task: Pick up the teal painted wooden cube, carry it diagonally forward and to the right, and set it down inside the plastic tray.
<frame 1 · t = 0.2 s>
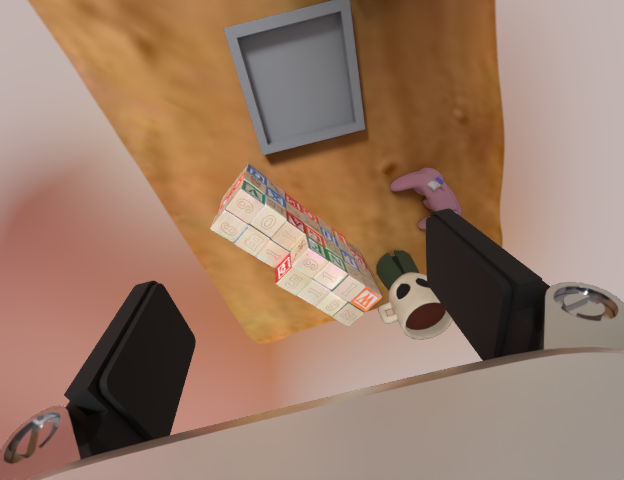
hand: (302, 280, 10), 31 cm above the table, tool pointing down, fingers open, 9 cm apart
tray: (299, 83, 34), on the table
character mug: (392, 263, 50), on the table
stack of blocks: (295, 224, 44), on the table
video game controller: (418, 193, 44), on the table
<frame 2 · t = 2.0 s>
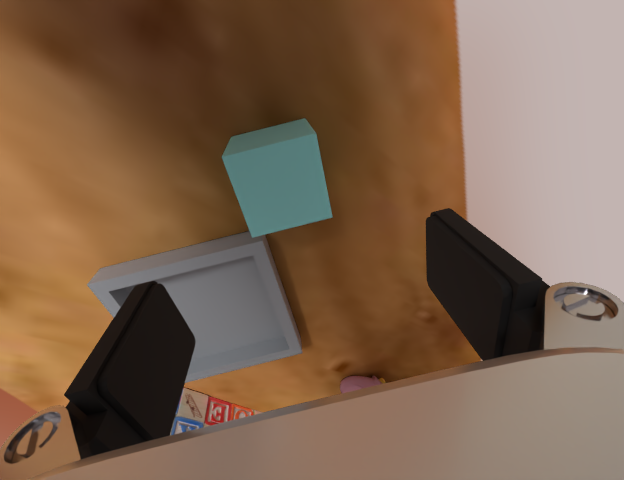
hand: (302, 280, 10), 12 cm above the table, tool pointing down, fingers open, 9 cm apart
tray: (213, 306, 26), on the table
stack of blocks: (228, 416, 36), on the table
cube: (278, 163, 21), on the table
video game controller: (377, 382, 36), on the table
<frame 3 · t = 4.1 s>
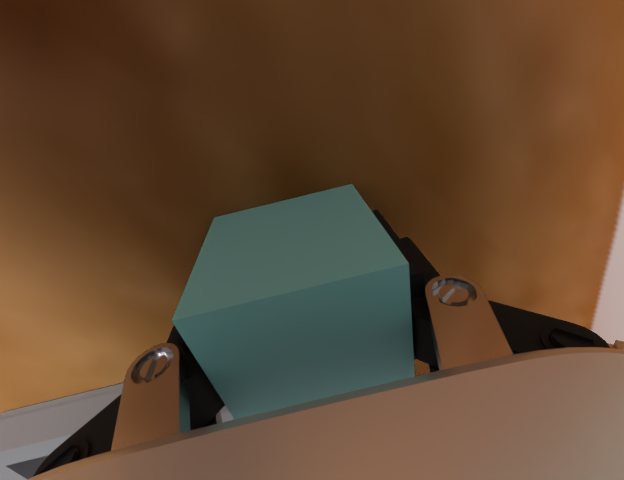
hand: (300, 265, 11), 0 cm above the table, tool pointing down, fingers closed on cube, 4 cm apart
tray: (192, 446, 17), on the table
cube: (299, 258, 12), on the table, touching gripper
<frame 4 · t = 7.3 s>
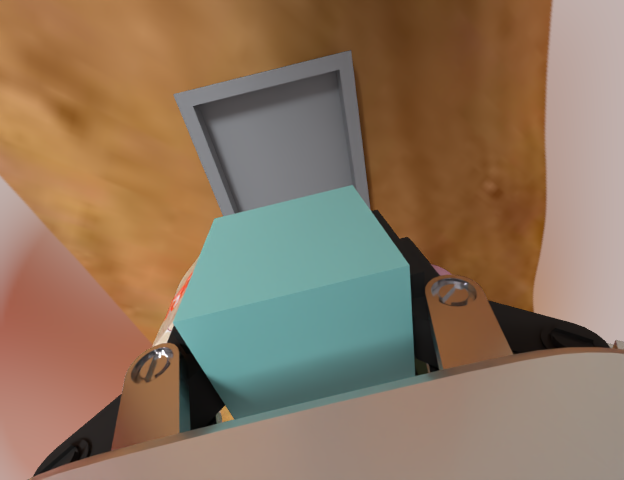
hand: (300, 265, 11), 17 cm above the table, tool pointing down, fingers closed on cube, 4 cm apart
tray: (284, 155, 26), on the table
stack of blocks: (278, 303, 35), on the table
cube: (299, 259, 12), point 17 cm above the table, touching gripper
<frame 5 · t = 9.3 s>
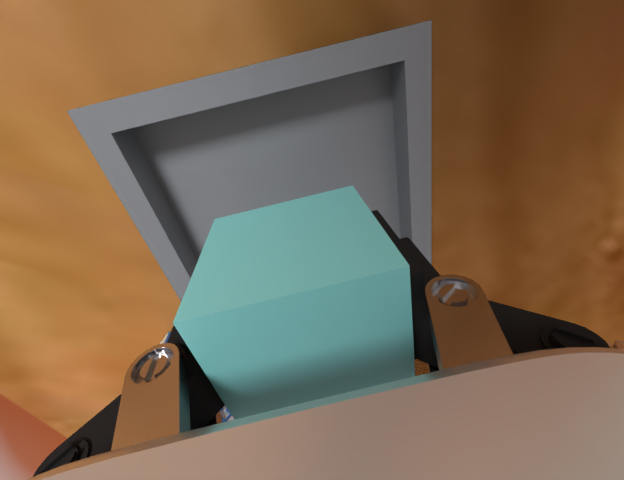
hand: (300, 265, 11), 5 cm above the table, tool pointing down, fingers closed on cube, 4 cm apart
tray: (291, 208, 15), on the table
cube: (299, 259, 12), point 4 cm above the table, touching gripper
when the fingers open (2 cm above the table, at t = 10.7 s): cube drops 1 cm, resting on tray.
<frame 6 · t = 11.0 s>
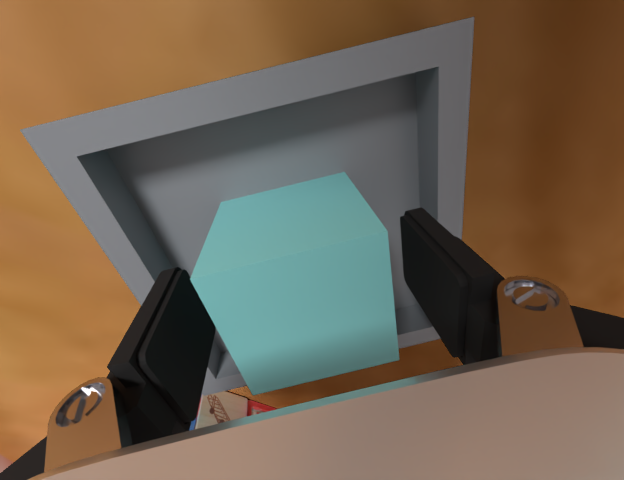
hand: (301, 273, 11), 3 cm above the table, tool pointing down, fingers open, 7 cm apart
tray: (296, 236, 13), on the table
stack of blocks: (278, 433, 22), on the table
cube: (297, 240, 13), resting on tray
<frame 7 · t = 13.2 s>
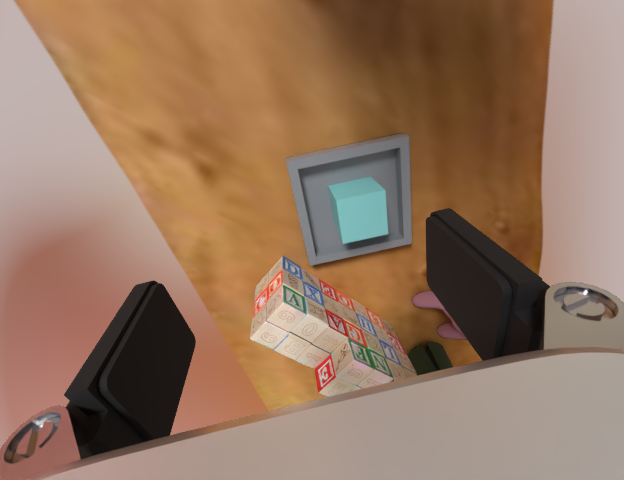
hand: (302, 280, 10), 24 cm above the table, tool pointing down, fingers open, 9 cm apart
tray: (351, 200, 35), on the table
character mug: (423, 352, 49), on the table
stack of blocks: (328, 305, 43), on the table
cube: (352, 201, 35), resting on tray
video game controller: (439, 303, 45), on the table
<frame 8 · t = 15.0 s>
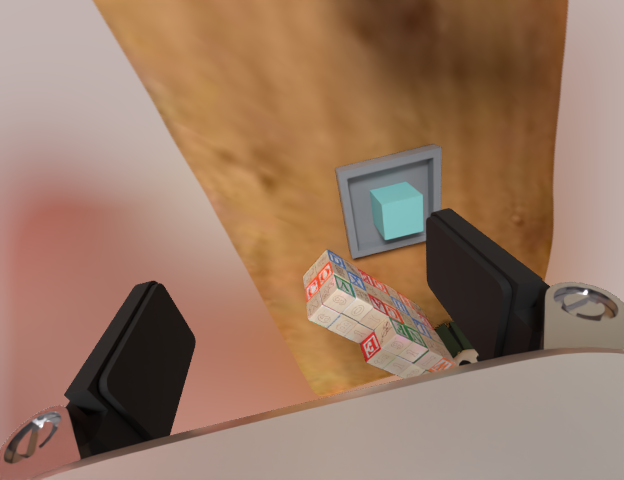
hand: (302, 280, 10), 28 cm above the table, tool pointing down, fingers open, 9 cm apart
tray: (388, 202, 41), on the table
character mug: (446, 330, 56), on the table
stack of blocks: (364, 290, 49), on the table
cube: (389, 202, 40), resting on tray
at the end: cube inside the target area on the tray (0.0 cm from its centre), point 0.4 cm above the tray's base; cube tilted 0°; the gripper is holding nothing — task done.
